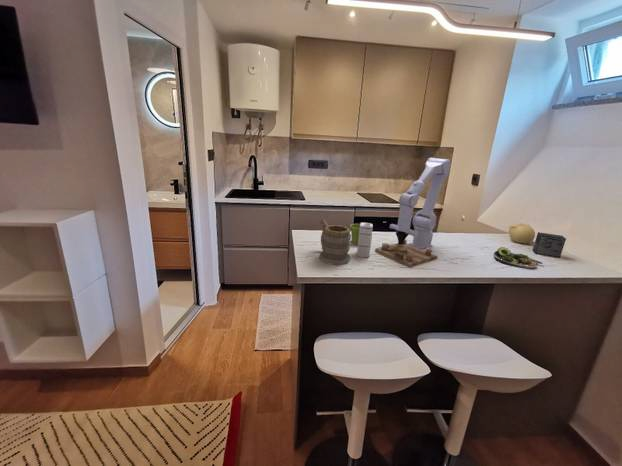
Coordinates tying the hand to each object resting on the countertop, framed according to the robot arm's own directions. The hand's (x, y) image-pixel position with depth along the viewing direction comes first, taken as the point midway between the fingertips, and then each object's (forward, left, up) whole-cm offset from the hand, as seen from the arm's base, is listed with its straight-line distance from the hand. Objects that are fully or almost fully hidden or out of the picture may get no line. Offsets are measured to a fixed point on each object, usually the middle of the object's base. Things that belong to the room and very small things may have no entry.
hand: (400, 246), depth 139 cm
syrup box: (+19, -6, -3) cm, 20 cm away
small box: (-69, +38, -3) cm, 79 cm away
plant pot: (+10, -19, -3) cm, 21 cm away
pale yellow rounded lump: (-79, +23, -3) cm, 82 cm away
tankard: (+34, -11, -3) cm, 36 cm away
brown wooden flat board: (+1, +4, -3) cm, 5 cm away
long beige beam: (+4, 0, -1) cm, 4 cm away
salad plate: (-42, +33, -3) cm, 54 cm away
